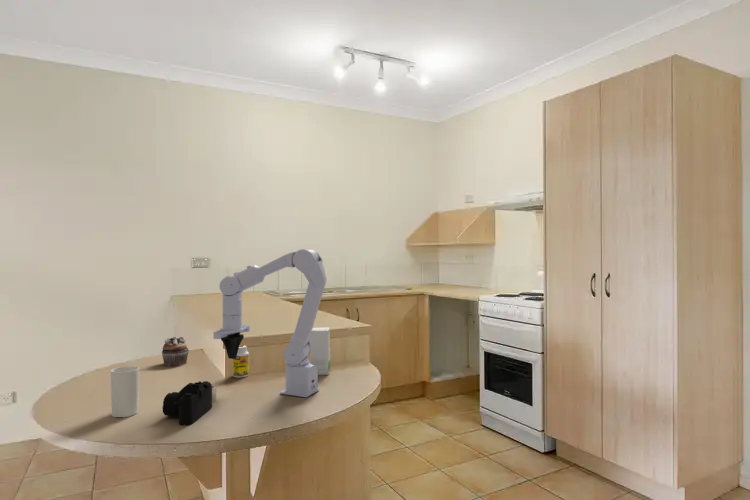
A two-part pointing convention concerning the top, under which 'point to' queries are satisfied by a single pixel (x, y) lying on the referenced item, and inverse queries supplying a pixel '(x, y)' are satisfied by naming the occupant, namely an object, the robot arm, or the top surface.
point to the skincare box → (320, 349)
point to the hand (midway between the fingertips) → (232, 358)
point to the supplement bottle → (241, 363)
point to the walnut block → (213, 393)
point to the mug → (124, 391)
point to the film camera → (189, 402)
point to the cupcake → (175, 352)
